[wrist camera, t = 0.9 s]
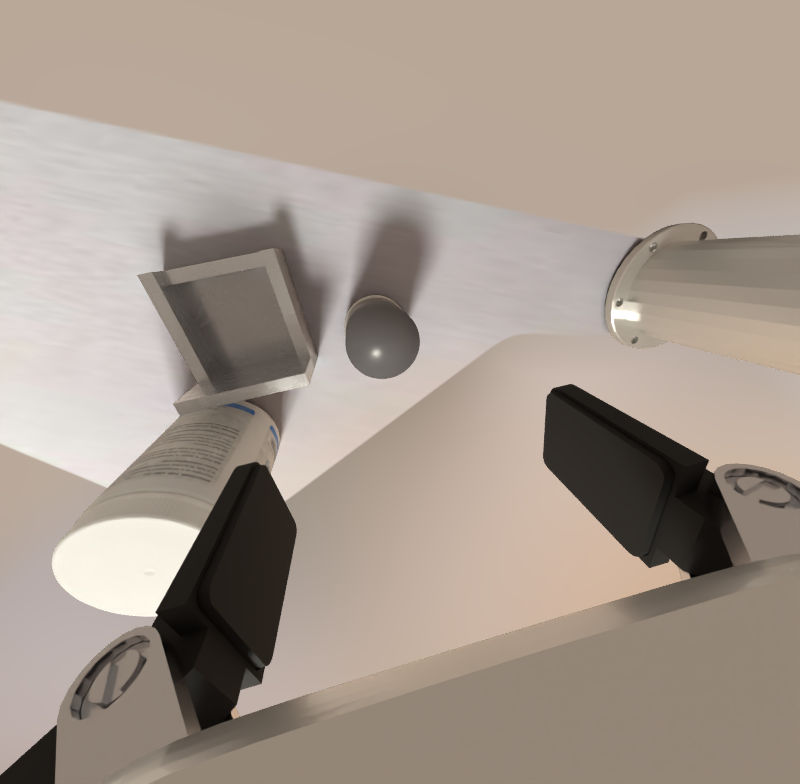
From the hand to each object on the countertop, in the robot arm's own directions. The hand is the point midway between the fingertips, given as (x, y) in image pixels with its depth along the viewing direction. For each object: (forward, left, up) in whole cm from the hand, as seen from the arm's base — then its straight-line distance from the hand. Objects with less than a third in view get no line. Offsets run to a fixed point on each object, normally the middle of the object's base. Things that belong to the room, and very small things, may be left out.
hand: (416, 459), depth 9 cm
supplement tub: (+17, +8, -21) cm, 27 cm away
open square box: (+11, -3, -20) cm, 23 cm away
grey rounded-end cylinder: (0, 0, -20) cm, 20 cm away
